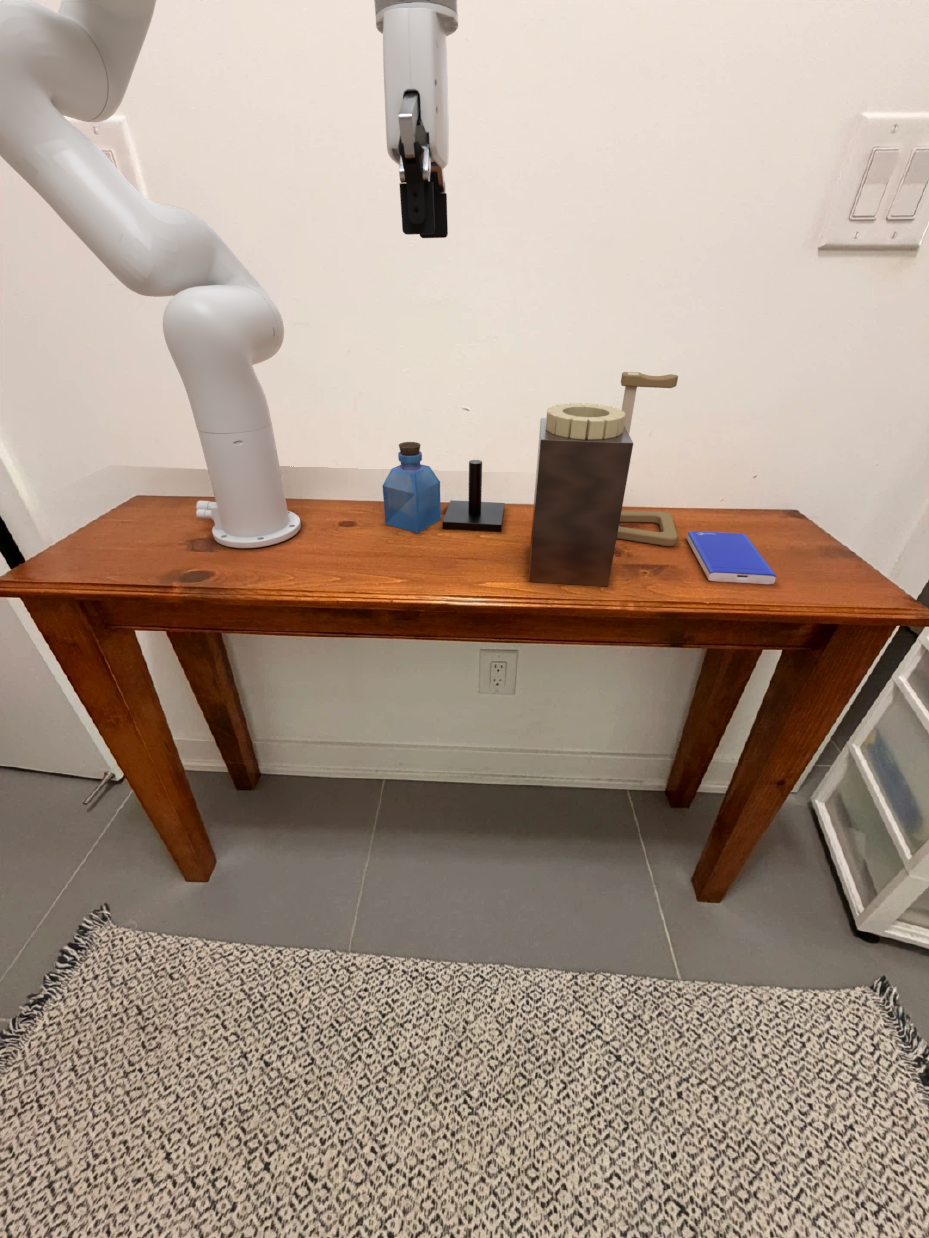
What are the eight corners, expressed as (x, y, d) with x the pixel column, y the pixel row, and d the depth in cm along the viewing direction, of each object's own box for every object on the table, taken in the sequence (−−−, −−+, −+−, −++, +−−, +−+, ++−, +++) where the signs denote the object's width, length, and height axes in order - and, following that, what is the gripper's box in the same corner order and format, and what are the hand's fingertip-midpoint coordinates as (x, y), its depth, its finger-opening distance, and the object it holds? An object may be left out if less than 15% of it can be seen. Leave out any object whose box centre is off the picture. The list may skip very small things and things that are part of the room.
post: (442, 529, 83) (441, 470, 78) (450, 507, 91) (450, 451, 86) (501, 532, 82) (503, 472, 77) (504, 509, 90) (507, 454, 85)
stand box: (528, 582, 70) (540, 439, 60) (530, 548, 78) (540, 417, 68) (608, 587, 69) (633, 443, 59) (601, 551, 77) (622, 420, 67)
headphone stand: (677, 547, 78) (717, 384, 66) (599, 541, 80) (624, 380, 68) (669, 519, 87) (703, 370, 75) (599, 514, 88) (621, 367, 76)
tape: (546, 438, 60) (547, 419, 59) (545, 419, 67) (546, 402, 66) (627, 441, 59) (630, 422, 58) (617, 421, 67) (620, 404, 65)
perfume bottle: (440, 519, 86) (439, 443, 80) (417, 533, 82) (413, 453, 75) (409, 511, 89) (405, 436, 82) (385, 524, 85) (379, 446, 78)
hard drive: (688, 530, 79) (710, 570, 69) (746, 533, 79) (777, 574, 68) (685, 540, 80) (707, 581, 70) (743, 543, 80) (773, 585, 69)
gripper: (395, 40, 57) (408, 240, 66) (348, -37, 42) (373, 233, 52) (467, 35, 56) (469, 238, 65) (444, -44, 41) (451, 231, 51)
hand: (426, 236), depth 58 cm, fingers open, 9 cm apart
